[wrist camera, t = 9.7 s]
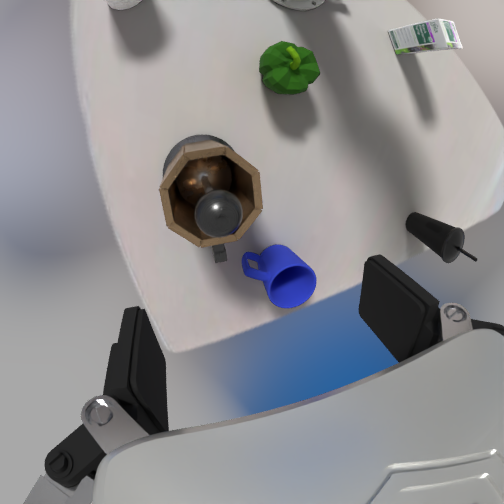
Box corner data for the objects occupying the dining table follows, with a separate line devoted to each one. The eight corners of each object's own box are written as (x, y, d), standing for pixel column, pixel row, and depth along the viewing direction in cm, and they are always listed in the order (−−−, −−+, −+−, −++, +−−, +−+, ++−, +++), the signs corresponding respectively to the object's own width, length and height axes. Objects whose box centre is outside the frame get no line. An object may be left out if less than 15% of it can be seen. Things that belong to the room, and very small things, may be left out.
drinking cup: (398, 238, 58) (460, 280, 41) (404, 206, 55) (472, 242, 38) (419, 236, 60) (478, 275, 43) (426, 206, 57) (490, 240, 39)
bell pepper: (306, 92, 41) (336, 86, 32) (261, 102, 40) (281, 96, 32) (293, 47, 37) (320, 32, 28) (246, 55, 36) (263, 38, 28)
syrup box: (386, 30, 37) (437, 17, 25) (405, 30, 38) (455, 20, 25) (395, 54, 40) (448, 47, 27) (413, 53, 40) (464, 49, 28)
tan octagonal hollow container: (234, 129, 41) (265, 131, 26) (243, 213, 48) (275, 259, 32) (158, 142, 39) (142, 151, 24) (173, 226, 46) (170, 279, 30)
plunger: (227, 147, 37) (265, 165, 20) (234, 199, 40) (273, 255, 24) (172, 156, 36) (163, 181, 19) (181, 209, 39) (182, 273, 23)
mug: (244, 226, 49) (259, 250, 40) (302, 246, 53) (325, 271, 44) (226, 266, 51) (236, 297, 42) (283, 282, 56) (301, 312, 47)
